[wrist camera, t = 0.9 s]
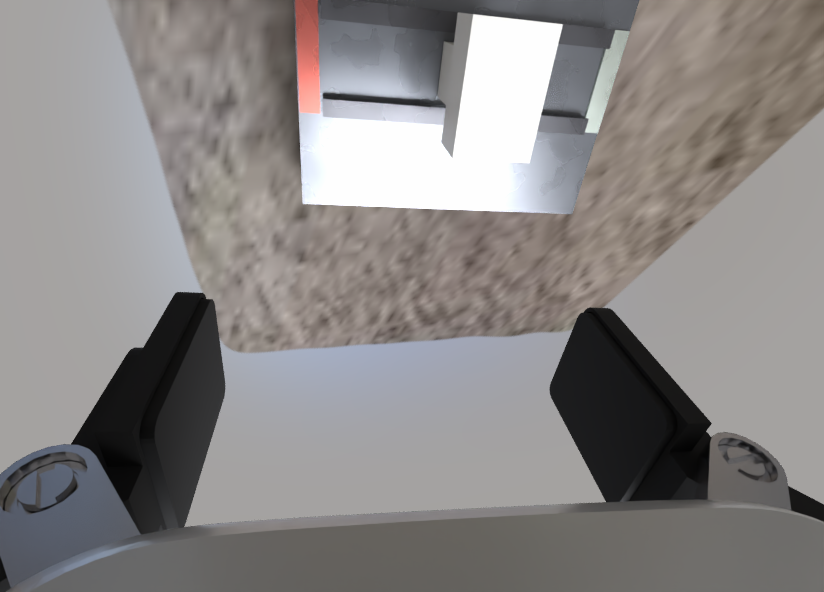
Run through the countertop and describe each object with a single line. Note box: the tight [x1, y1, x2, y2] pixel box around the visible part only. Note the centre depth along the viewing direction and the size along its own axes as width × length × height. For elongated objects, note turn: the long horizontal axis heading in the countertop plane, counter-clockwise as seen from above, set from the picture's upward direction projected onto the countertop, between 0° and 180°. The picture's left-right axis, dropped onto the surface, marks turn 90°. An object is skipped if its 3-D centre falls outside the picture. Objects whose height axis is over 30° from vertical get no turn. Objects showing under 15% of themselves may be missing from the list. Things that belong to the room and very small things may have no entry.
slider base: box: [294, 0, 639, 214], centre depth 29 cm, size 18×20×7 cm
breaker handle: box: [437, 12, 563, 163], centre depth 24 cm, size 6×4×8 cm, turn 175°
